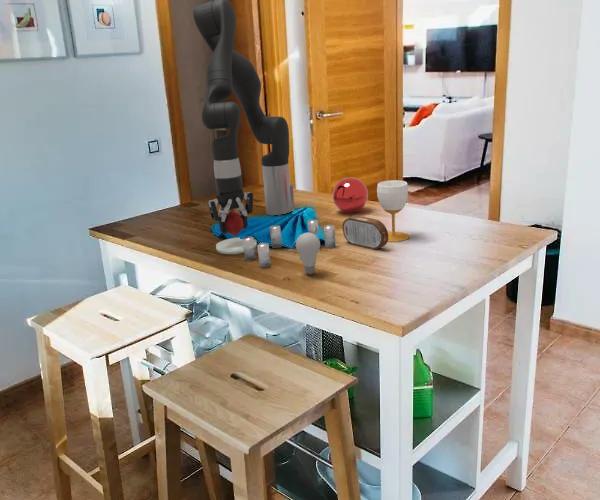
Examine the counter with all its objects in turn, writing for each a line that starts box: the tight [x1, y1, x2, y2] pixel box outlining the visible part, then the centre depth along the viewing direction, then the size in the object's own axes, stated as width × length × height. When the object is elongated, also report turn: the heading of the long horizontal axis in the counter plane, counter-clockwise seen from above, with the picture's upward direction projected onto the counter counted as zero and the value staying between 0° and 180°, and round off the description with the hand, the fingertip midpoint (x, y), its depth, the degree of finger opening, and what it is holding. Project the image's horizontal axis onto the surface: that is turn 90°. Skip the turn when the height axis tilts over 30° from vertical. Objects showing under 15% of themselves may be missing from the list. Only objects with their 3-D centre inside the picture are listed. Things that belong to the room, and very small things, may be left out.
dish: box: [215, 237, 258, 255], centre depth 177 cm, size 12×12×1 cm
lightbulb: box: [295, 232, 321, 276], centre depth 151 cm, size 6×6×11 cm
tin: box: [342, 214, 389, 250], centre depth 169 cm, size 15×3×8 cm, turn 44°
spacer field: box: [243, 219, 337, 268], centre depth 169 cm, size 25×18×6 cm
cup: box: [376, 179, 410, 243], centre depth 174 cm, size 9×9×16 cm
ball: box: [331, 177, 369, 214], centre depth 203 cm, size 12×12×12 cm
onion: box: [225, 209, 244, 237], centre depth 175 cm, size 6×6×8 cm
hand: (234, 230), depth 176 cm, fingers closed on onion, 6 cm apart
